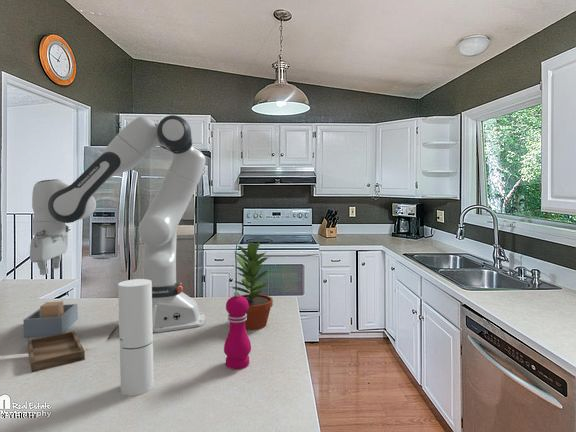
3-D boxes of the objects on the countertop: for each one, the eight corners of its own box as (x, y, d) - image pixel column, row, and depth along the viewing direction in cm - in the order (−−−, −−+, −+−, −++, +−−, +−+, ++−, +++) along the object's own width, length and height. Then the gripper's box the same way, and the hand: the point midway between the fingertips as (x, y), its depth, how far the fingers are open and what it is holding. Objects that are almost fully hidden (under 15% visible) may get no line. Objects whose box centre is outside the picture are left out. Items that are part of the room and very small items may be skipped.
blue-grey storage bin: (78, 321, 130) (77, 303, 130) (62, 337, 116) (61, 317, 116) (44, 324, 128) (43, 305, 128) (24, 340, 114) (23, 319, 113)
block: (64, 324, 125) (63, 301, 124) (58, 329, 120) (57, 305, 120) (47, 325, 124) (46, 302, 123) (41, 330, 119) (40, 306, 118)
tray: (28, 348, 108) (27, 340, 108) (75, 338, 115) (74, 331, 115) (31, 372, 93) (31, 362, 93) (84, 359, 101) (84, 350, 101)
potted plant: (262, 314, 138) (262, 235, 136) (279, 328, 125) (279, 240, 123) (223, 320, 132) (223, 237, 130) (237, 335, 118) (237, 243, 116)
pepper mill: (239, 373, 93) (239, 295, 92) (218, 366, 97) (217, 291, 96) (256, 362, 100) (256, 289, 98) (235, 355, 103) (235, 285, 102)
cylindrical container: (145, 376, 91) (143, 277, 90) (158, 387, 86) (156, 282, 85) (116, 387, 86) (113, 282, 85) (127, 399, 81) (125, 288, 80)
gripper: (46, 232, 110) (47, 278, 111) (70, 226, 130) (71, 265, 131) (22, 232, 109) (24, 278, 110) (51, 226, 129) (52, 265, 130)
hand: (50, 271), depth 121 cm, fingers open, 8 cm apart
